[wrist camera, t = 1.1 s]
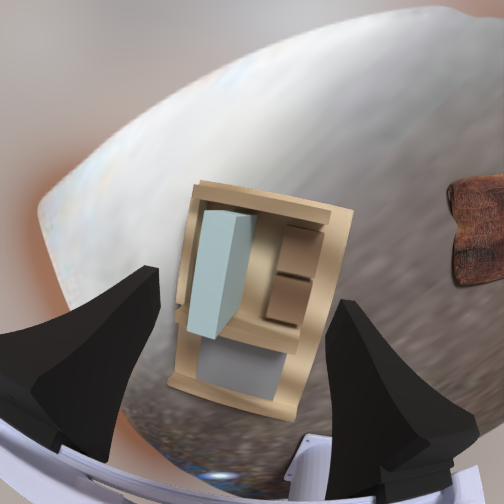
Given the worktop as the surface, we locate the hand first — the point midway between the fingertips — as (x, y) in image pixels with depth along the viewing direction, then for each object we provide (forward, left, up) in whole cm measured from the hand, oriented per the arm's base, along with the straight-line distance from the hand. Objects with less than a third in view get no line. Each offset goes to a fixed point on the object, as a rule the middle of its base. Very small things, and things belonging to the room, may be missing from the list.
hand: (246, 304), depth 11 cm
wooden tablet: (+10, -27, -14) cm, 32 cm away
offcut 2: (-3, -1, -13) cm, 13 cm away
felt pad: (-11, +2, -14) cm, 18 cm away
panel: (-1, +4, -13) cm, 13 cm away
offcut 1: (+1, -1, -13) cm, 13 cm away
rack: (-5, +2, -14) cm, 15 cm away
